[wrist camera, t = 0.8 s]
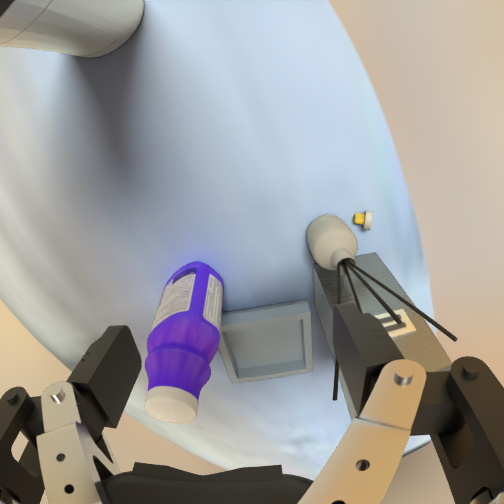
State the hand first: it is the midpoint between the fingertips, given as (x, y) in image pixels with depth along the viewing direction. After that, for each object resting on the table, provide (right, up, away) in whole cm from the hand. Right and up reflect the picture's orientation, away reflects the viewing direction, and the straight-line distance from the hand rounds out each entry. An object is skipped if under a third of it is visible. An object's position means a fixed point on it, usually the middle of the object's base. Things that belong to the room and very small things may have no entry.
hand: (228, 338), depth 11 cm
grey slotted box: (+12, 0, +24) cm, 27 cm away
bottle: (-6, 0, +24) cm, 24 cm away
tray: (+3, -9, +29) cm, 30 cm away
